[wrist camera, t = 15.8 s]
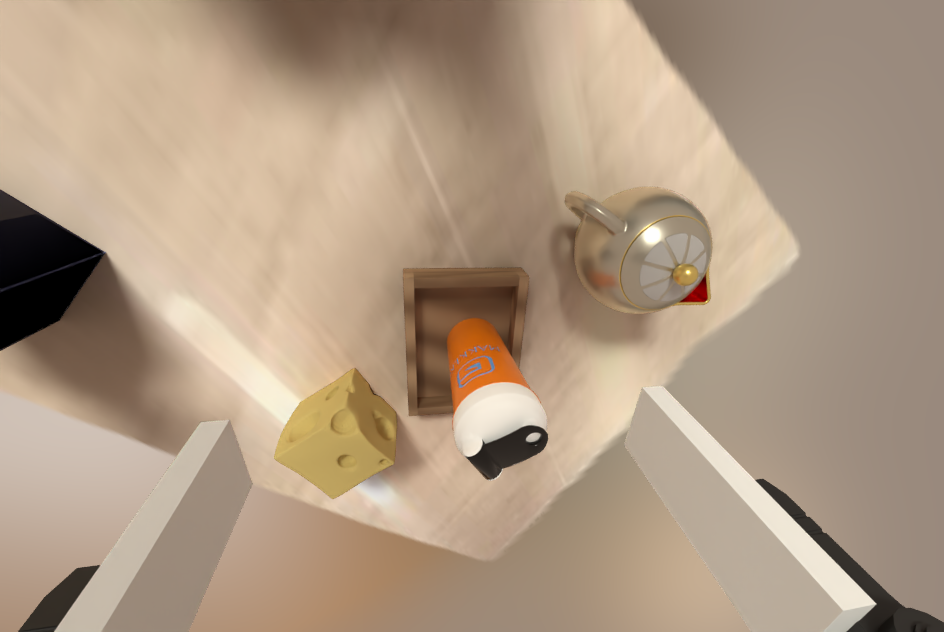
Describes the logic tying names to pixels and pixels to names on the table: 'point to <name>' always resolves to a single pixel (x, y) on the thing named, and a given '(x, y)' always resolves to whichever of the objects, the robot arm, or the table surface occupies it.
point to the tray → (455, 323)
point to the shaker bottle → (491, 401)
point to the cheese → (339, 436)
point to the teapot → (642, 249)
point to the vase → (37, 270)
